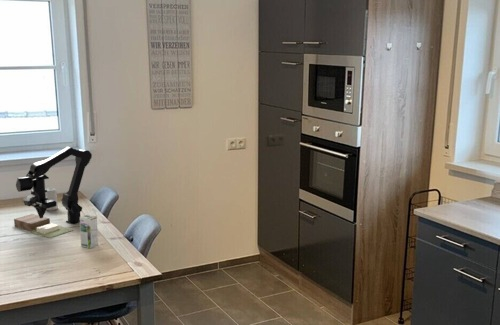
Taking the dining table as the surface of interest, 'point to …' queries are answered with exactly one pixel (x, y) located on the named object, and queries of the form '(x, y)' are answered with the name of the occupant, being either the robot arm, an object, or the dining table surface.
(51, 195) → the can
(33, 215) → the brown flat block
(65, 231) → the mat
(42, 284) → the dining table surface
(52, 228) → the cream chamfered block
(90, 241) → the syrup box
